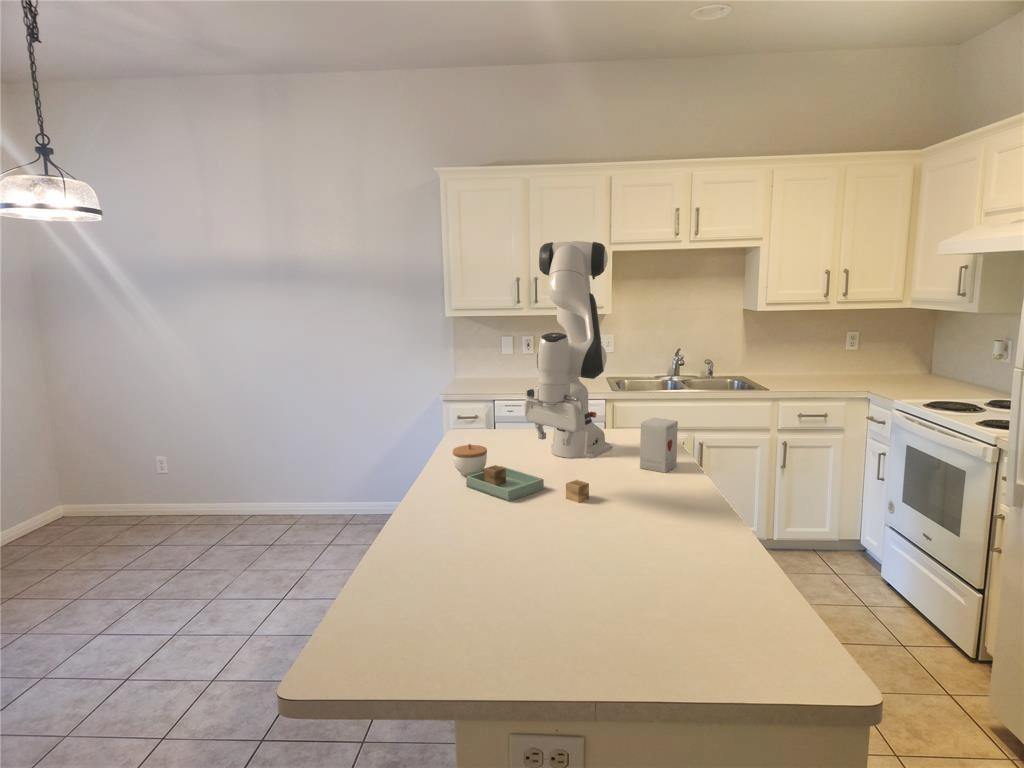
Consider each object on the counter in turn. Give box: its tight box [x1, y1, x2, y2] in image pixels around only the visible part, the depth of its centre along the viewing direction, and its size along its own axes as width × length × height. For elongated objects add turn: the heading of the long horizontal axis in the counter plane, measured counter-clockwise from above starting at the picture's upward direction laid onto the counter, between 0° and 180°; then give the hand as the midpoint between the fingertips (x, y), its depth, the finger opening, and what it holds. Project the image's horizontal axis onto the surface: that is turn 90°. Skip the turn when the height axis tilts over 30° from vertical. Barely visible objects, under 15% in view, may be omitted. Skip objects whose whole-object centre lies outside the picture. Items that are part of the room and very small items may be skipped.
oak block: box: [565, 479, 590, 504], centre depth 179 cm, size 4×4×4 cm
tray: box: [465, 465, 545, 503], centre depth 189 cm, size 14×18×3 cm
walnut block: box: [483, 464, 507, 486], centre depth 192 cm, size 4×4×4 cm
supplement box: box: [639, 417, 679, 474], centre depth 205 cm, size 9×9×15 cm
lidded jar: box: [452, 443, 488, 477], centre depth 203 cm, size 11×11×9 cm
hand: (554, 442), depth 180 cm, fingers open, 8 cm apart
